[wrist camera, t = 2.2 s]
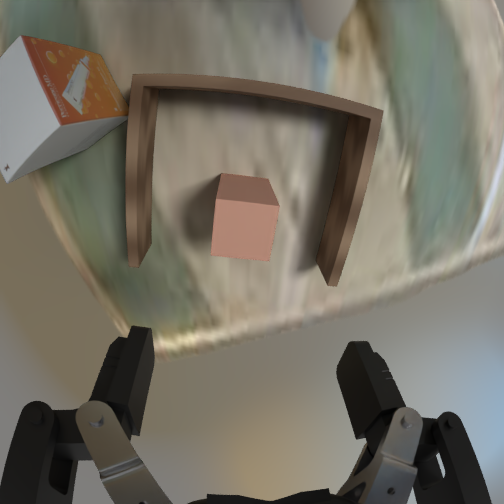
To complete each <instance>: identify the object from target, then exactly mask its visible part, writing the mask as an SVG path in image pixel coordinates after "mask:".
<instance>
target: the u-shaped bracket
mask: <svg viewBox="0 0 504 504" xmlns="http://www.w3.org/2000/svg"><path fill="white" fill-rule="evenodd" d="M159 89H177V90H197V91H211V92H222V93H232V94H241V95H249V96H256V97H263V98H270V99H276V100H282V101H287V102H293V103H298V104H303V105H308V106H312V107H317V108H321V109H326V110H330V111H334V112H338V113H342V114H346V115H349V120H348V125H347V130H346V135H345V140H344V145H343V150H342V155H341V159H340V164H339V168H338V173H337V177H336V182H335V186H334V190H333V195H332V199H331V203H330V207H329V211H328V215H327V219H326V223H325V227H324V231H323V235H322V239H321V242H320V246H319V250H318V254H317V257H316V262H317V264H318V266H319V268H320V270H321V273H322V275H323V277H324V279H325V281H326V283H327V286H337V284H338V282H339V279H340V276H341V273H342V270H343V267H344V264H345V260H346V257H347V254H348V251H349V248H350V245H351V241H352V238H353V235H354V231H355V228H356V225H357V221H358V218H359V214H360V210H361V207H362V203H363V199H364V196H365V192H366V188H367V184H368V180H369V176H370V172H371V168H372V164H373V159H374V155H375V150H376V146H377V141H378V136H379V132H380V127H381V122H382V116H383V110H380V109H377V108H374V107H371V106H367V105H364V104H361V103H358V102H354V101H351V100H347V99H343V98H340V97H336V96H332V95H328V94H324V93H320V92H315V91H311V90H306V89H301V88H296V87H291V86H286V85H280V84H275V83H269V82H262V81H255V80H248V79H239V78H230V77H220V76H208V75H191V74H133V77H132V85H131V94H130V103H129V115H128V128H127V146H126V230H127V248H128V262H129V267H136V268H139V266H140V264H141V262H142V261H143V259H144V257H145V255H146V253H147V251H148V249H149V247H150V246H151V244H152V240H151V207H152V172H153V153H154V139H155V126H156V115H157V106H158V97H159Z"/></svg>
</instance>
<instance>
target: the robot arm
mask: <svg viewBox="0 0 504 504" xmlns="http://www.w3.org/2000/svg"><path fill="white" fill-rule="evenodd" d="M154 359H155V355H154V346H153V337H152V330H151V328H146V327H139V326H132V327H131V329H130V332H129V335H128V337H127V338H124V337H118V338H117V339H116V340H115V341H114V342H113V343H112V344H111V345H110V347H109V349H108V352H107V354H106V358H105V359H104V362H103V366H102V367H101V370H100V373H99V375H98V378H97V381H96V384H95V386H94V389H93V392H92V395H91V397H90V399H89V401H88V402H86V403H84V404H82V405H81V406H80V407H79V408H78V409H74V410H52V409H51V408H50V407H49V405H47V404H46V403H44V402H41V401H33V402H30V403H28V404H27V405H26V406H25V407H24V408H23V410H22V412H21V415H20V417H19V420H18V423H17V426H16V429H15V432H14V436H13V438H12V442H11V445H10V449H9V452H8V456H7V460H6V464H5V467H4V472H3V476H2V480H1V485H0V504H72V499H73V491H74V484H75V478H76V471H77V465H78V460H93V461H94V463H95V465H96V467H97V469H98V471H99V473H100V478H101V481H102V483H103V485H104V486H105V488H106V490H107V492H108V494H109V495H110V497H111V499H112V500H113V502H114V504H173V503H172V502H171V501H170V500H169V498H168V497H167V496H166V494H165V493H164V492H163V490H162V489H161V488H160V486H159V485H158V483H157V482H156V480H155V479H154V478H153V476H152V475H151V473H150V472H149V470H148V469H147V467H146V466H145V464H144V463H143V461H142V460H141V459H140V458H139V456H138V454H137V453H136V451H135V450H134V448H133V446H132V445H131V443H130V440H131V435H137V436H140V430H141V425H142V420H143V415H144V410H145V405H146V400H147V395H148V390H149V386H150V382H151V377H152V373H153V368H154ZM336 374H337V379H338V383H339V385H340V389H341V392H342V395H343V398H344V401H345V404H346V408H347V411H348V414H349V418H350V421H351V424H352V428H353V431H354V434H355V438H356V439H362V438H366V441H367V443H366V444H365V445H364V447H363V449H362V452H361V454H360V456H359V458H358V460H357V462H356V464H355V466H354V468H353V471H352V472H351V474H350V476H349V478H348V480H347V481H346V482H345V483H344V485H343V486H342V487H341V488H340V490H339V491H338V493H337V494H336V495H334V494H330V492H329V488H327V489H321V490H314V491H306V492H300V493H297V494H294V495H291V496H288V497H284V498H281V499H278V500H274V501H265V500H260V499H254V498H249V497H244V496H240V495H215V494H207V499H201V500H197V501H193V502H190V503H188V504H407V501H408V498H409V496H410V493H411V490H412V487H413V489H414V493H415V497H416V501H417V504H492V503H491V500H490V496H489V493H488V490H487V486H486V483H485V480H484V478H483V474H482V471H481V469H480V466H479V463H478V460H477V458H476V455H475V452H474V450H473V447H472V445H471V442H470V440H469V438H468V435H467V433H466V430H465V428H464V426H463V423H462V421H461V419H460V418H459V417H458V416H457V415H456V414H454V413H452V412H444V413H442V414H441V415H440V416H439V417H438V418H437V419H433V418H423V417H421V416H420V414H419V413H418V412H417V411H416V410H414V409H412V408H409V407H406V405H405V403H404V401H403V398H402V396H401V394H400V392H399V390H398V387H397V385H396V383H395V381H394V380H393V377H392V375H391V372H389V368H388V367H387V364H386V362H385V360H384V359H383V358H382V357H381V356H380V355H379V354H378V353H377V352H375V353H374V352H373V350H372V348H371V346H370V344H369V342H367V341H351V342H349V343H348V345H347V347H346V349H345V351H344V353H343V355H342V357H341V359H340V361H339V364H338V365H337V371H336ZM438 453H440V456H441V459H442V462H443V465H444V469H445V477H444V478H443V476H442V473H441V469H440V466H439V464H438V460H437V457H436V455H437V454H438Z"/></svg>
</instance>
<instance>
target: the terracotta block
mask: <svg viewBox="0 0 504 504" xmlns="http://www.w3.org/2000/svg"><path fill="white" fill-rule="evenodd" d="M279 208H280V206H279V203H278V201H277V198H276V196H275V194H274V191H273V189H272V187H271V184H270V182H269V180H268V179H266V178H258V177H250V176H242V175H233V174H224V173H221V178H220V182H219V187H218V192H217V196H216V204H215V213H214V224H213V234H212V245H211V255H212V256H222V257H231V258H241V259H252V260H262V261H269V260H270V255H271V250H272V244H273V239H274V234H275V229H276V224H277V218H278V213H279Z"/></svg>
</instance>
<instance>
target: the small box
mask: <svg viewBox="0 0 504 504" xmlns="http://www.w3.org/2000/svg"><path fill="white" fill-rule="evenodd" d="M128 115H129V106H128V105H127V103H126V101H125V100H124V98H123V96H122V94H121V93H120V91H119V89H118V87H117V85H116V84H115V82H114V80H113V78H112V76H111V74H110V72H109V70H108V69H107V67H106V65H105V63H104V61H103V59H102V57H101V55H100V54H96V53H93V52H90V51H86V50H83V49H79V48H76V47H72V46H68V45H64V44H60V43H56V42H52V41H47V40H43V39H38V38H33V37H28V36H23V35H20V36H19V37H18V38H17V39H16V40H15V41H14V42H13V44H12V45H11V46H10V47H9V48H8V49H7V50H6V51H5V53H4V54H3V55H2V56H1V57H0V172H1V174H2V176H3V178H4V179H5V182H6V183H7V184H8V183H10V182H12V181H14V180H16V179H18V178H20V177H22V176H24V175H27V174H29V173H31V172H33V171H35V170H37V169H39V168H42V167H44V166H46V165H48V164H51V163H53V162H56V161H58V160H61V159H63V158H66V157H68V156H71V155H73V154H75V153H78V152H80V151H83V150H86V149H88V148H89V147H90V146H91V145H93V144H94V143H95V142H97V141H98V140H99V139H101V138H102V137H103V136H104V135H106V134H107V133H109V132H110V131H111V130H113V129H114V128H115V127H117V126H118V125H120V124H121V123H123V122H124V121H126V120H127V119H128Z"/></svg>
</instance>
